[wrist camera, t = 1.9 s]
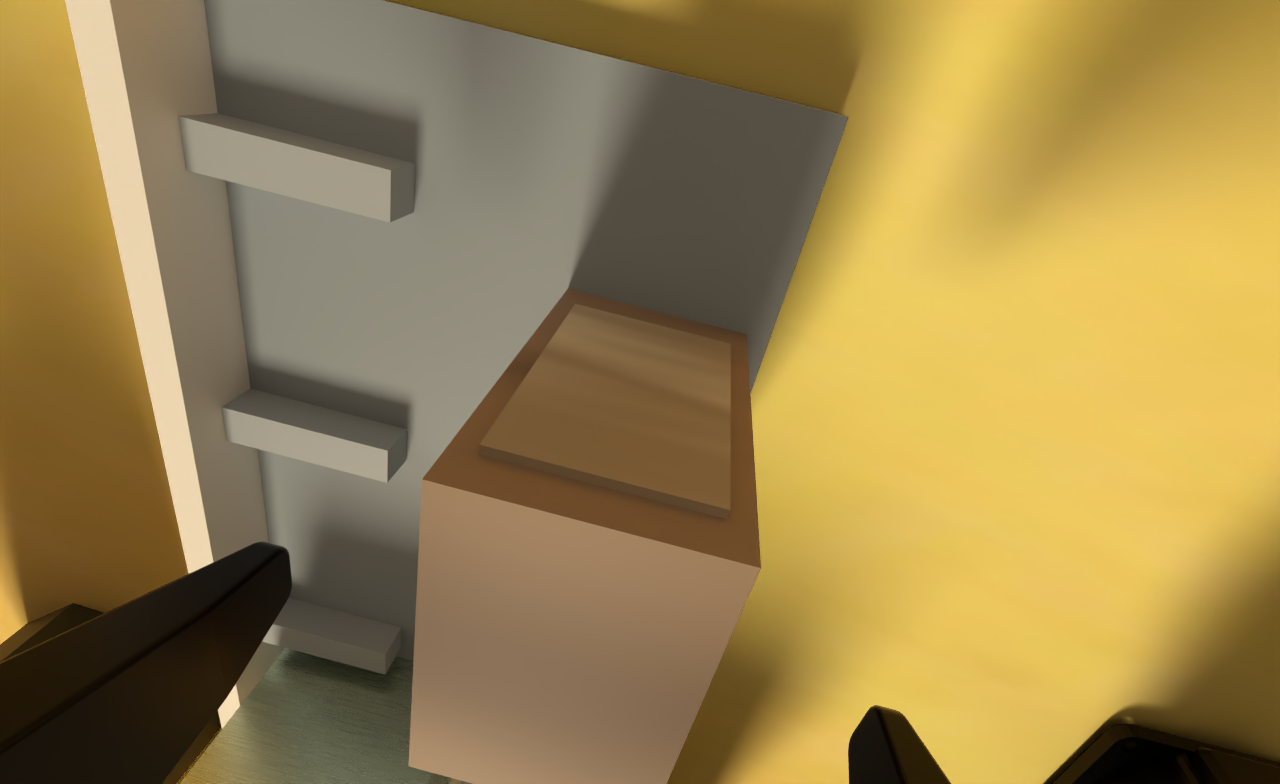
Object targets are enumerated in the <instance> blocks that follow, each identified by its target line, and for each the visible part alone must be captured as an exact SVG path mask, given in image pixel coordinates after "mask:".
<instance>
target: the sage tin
mask: <svg viewBox="0 0 1280 784" xmlns="http://www.w3.org/2000/svg"><path fill="white" fill-rule="evenodd" d="M412 681H413V661H412V660H408V659H404V658H401V657H397V656H396V657H395V658H394V660H393V662H392V664H391V665H390V667H389V669H388V671H387V672H386V674H381V673H378V672H374V671H370V670H366V669H363V668H359V667H355V666H351V665H348V664H344V663H340V662H336V661H333V660H329V659H325V658H321V657H318V656H314V655H310V654H307V653H303V652H299V651H295V650H292V649H288V648H285V649H284V650H283V651H282V653H281V654H280V655H279V656H278V658H277V659H276V660H275V662H274V663H273V664H272V665H271V667H270V668H269V669H268V671H267V672H266V673H265V674H264V676H263V677H262V678H261V680H260V681H259V682H258V683H257V685H256V686H255V687H254V689H253V690H252V691H251V692H250V694H249V695H248V696H247V698H246V699H245V700H244V701H243V703H242V704H241V705H240V707H239V708H238V709H237V710H236V712H235V713H234V714H233V716H232V717H231V718H230V719H229V721H228V722H227V723H226V725H225V726H224V727H223V728H222V730H221V731H220V732H219V734H218V735H217V736H216V737H215V739H214V740H213V741H212V743H211V744H210V745H209V746H208V748H207V749H206V750H205V752H204V753H203V754H202V755H201V757H200V758H199V759H198V760H197V762H196V763H195V764H194V766H193V767H192V768H191V769H190V771H189V772H188V773H187V775H186V776H185V777H184V778H183V780H182V781H181V782H180V784H450V781H451V778H450V777H446V776H442V775H439V774H435V773H431V772H428V771H424V770H420V769H416V768H413V767H409V745H410V724H411V703H412Z"/></svg>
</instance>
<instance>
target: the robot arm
mask: <svg viewBox="0 0 1280 784" xmlns="http://www.w3.org/2000/svg"><path fill="white" fill-rule="evenodd" d="M291 590H292V576H291V566H290V556H289V551H288V550H287V549H286V548H285V547H283V546H279V545H275V544H272V543H268V542H257V543H253V544H251V545H249V546H247V547H245V548H243V549H240V550H238V551H236V552H234V553H232V554H230V555H228V556H226V557H223V558H221V559H219V560H217V561H215V562H213V563H211V564H209V565H206V566H204V567H202V568H200V569H198V570H196V571H194V572H192V573H189V574H187V575H185V576H183V577H181V578H179V579H177V580H175V581H172V582H170V583H168V584H166V585H164V586H162V587H160V588H158V589H155V590H153V591H151V592H149V593H147V594H145V595H143V596H141V597H138V598H136V599H134V600H132V601H130V602H128V603H126V604H124V605H121V606H119V607H117V608H115V609H113V610H111V611H109V612H107V613H104V614H102V615H100V616H98V617H96V618H94V619H92V620H90V621H87V622H85V623H83V624H81V625H79V626H77V627H75V628H73V629H70V630H68V631H66V632H64V633H62V634H60V635H58V636H56V637H53V638H51V639H49V640H47V641H45V642H43V643H41V644H39V645H36V646H34V647H32V648H30V649H28V650H26V651H24V652H22V653H19V654H17V655H15V656H13V657H11V658H9V659H7V660H5V661H2V662H0V784H162V783H163V782H164V781H165V779H166V778H167V777H168V775H169V774H170V773H171V771H172V770H173V769H174V767H175V766H176V765H177V763H178V762H179V761H180V759H181V758H182V757H183V755H184V754H185V753H186V752H187V750H188V749H189V748H190V746H191V745H192V744H193V742H194V741H195V740H196V738H197V737H198V736H199V734H200V733H201V732H202V730H203V729H204V728H205V726H206V725H207V724H208V722H209V721H210V720H211V719H212V717H213V716H214V715H215V713H216V712H217V710H218V709H219V708H220V706H221V705H222V704H223V702H224V701H225V699H226V698H227V697H228V695H229V694H230V692H231V691H232V689H233V687H234V686H235V684H236V683H237V681H238V680H239V678H240V676H241V675H242V673H243V672H244V670H245V668H246V667H247V665H248V664H249V662H250V660H251V659H252V657H253V655H254V654H255V652H256V651H257V649H258V647H259V646H260V644H261V642H262V641H263V639H264V638H265V636H266V634H267V633H268V631H269V630H270V628H271V626H272V625H273V623H274V621H275V620H276V618H277V617H278V615H279V613H280V612H281V610H282V608H283V607H284V605H285V604H286V602H287V600H288V598H289V596H290V593H291ZM848 759H849V784H951V783H950V781H949V780H948V778H947V777H946V775H945V774H944V773H943V771H942V770H941V768H940V767H939V765H938V764H937V762H936V761H935V759H934V758H933V756H932V755H931V754H930V752H929V751H928V749H927V748H926V746H925V745H924V743H923V742H922V740H921V739H920V738H919V736H918V735H917V733H916V732H915V730H914V729H913V727H912V726H911V724H910V723H909V721H908V720H907V719H906V717H905V716H904V715H903V714H902V713H900V712H899V711H896V710H893V709H889V708H885V707H882V706H877V705H875V706H872V707H870V709H869V710H868V711H867V713H866V714H865V716H864V717H863V719H862V720H861V722H860V723H859V725H858V726H857V728H856V729H855V731H854V732H853V734H852V736H851V739H850V742H849V749H848ZM1053 784H1280V763H1276V762H1272V761H1269V760H1265V759H1261V758H1257V757H1253V756H1250V755H1246V754H1242V753H1238V752H1234V751H1231V750H1227V749H1223V748H1219V747H1215V746H1212V745H1208V744H1204V743H1200V742H1197V741H1193V740H1189V739H1185V738H1181V737H1178V736H1174V735H1170V734H1166V733H1162V732H1159V731H1155V730H1151V729H1147V728H1143V727H1140V726H1136V725H1131V724H1120V725H1116V726H1113V727H1111V728H1109V729H1108V730H1107V731H1106V732H1105V733H1104V734H1103V735H1102V736H1101V737H1100V738H1099V739H1098V740H1096V741H1095V742H1094V743H1093V744H1092V745H1091V746H1090V747H1089V748H1088V749H1087V750H1086V751H1085V752H1084V753H1083V754H1082V755H1081V756H1080V757H1079V758H1078V759H1077V760H1076V761H1075V762H1074V763H1073V764H1072V765H1071V766H1070V767H1069V768H1068V769H1067V770H1066V771H1065V772H1064V773H1063V774H1062V775H1061V776H1060V777H1059V778H1058V779H1057V780H1056V781H1055V782H1054V783H1053Z"/></svg>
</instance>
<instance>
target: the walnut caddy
mask: <svg viewBox="0 0 1280 784" xmlns="http://www.w3.org/2000/svg"><path fill="white" fill-rule="evenodd" d="M760 569H761V563H760V547H759V530H758V513H757V497H756V480H755V463H754V447H753V430H752V414H751V397H750V380H749V364H748V347H747V334H743V333H739V332H735V331H731V330H727V329H724V328H720V327H716V326H712V325H708V324H704V323H700V322H696V321H692V320H688V319H684V318H681V317H677V316H673V315H669V314H665V313H661V312H657V311H653V310H649V309H645V308H642V307H638V306H634V305H630V304H626V303H622V302H618V301H614V300H610V299H606V298H603V297H599V296H595V295H591V294H587V293H583V292H579V291H575V290H571V289H567V290H566V292H565V293H564V294H563V296H562V297H561V298H560V300H559V301H558V302H557V303H556V305H555V306H554V307H553V309H552V310H551V311H550V313H549V314H548V315H547V317H546V318H545V319H544V320H543V322H542V323H541V324H540V326H539V327H538V328H537V330H536V331H535V332H534V334H533V335H532V336H531V337H530V339H529V340H528V341H527V343H526V344H525V345H524V347H523V348H522V349H521V351H520V352H519V353H518V354H517V356H516V357H515V358H514V360H513V361H512V362H511V364H510V365H509V366H508V368H507V369H506V370H505V371H504V373H503V374H502V375H501V377H500V378H499V379H498V381H497V382H496V383H495V385H494V386H493V387H492V388H491V390H490V391H489V392H488V394H487V395H486V396H485V398H484V399H483V400H482V402H481V403H480V404H479V405H478V407H477V408H476V409H475V411H474V412H473V413H472V415H471V416H470V417H469V419H468V420H467V421H466V422H465V424H464V425H463V426H462V428H461V429H460V430H459V432H458V433H457V434H456V436H455V437H454V438H453V439H452V441H451V442H450V443H449V445H448V446H447V447H446V449H445V450H444V451H443V453H442V454H441V455H440V456H439V458H438V459H437V460H436V462H435V463H434V464H433V466H432V467H431V468H430V470H429V471H428V472H427V473H426V475H425V476H424V477H423V479H422V489H421V511H420V532H419V553H418V575H417V596H416V617H415V639H414V660H413V681H412V703H411V724H410V745H409V767H413V768H416V769H420V770H424V771H428V772H431V773H435V774H439V775H442V776H446V777H450V778H454V779H457V780H461V781H465V782H468V783H472V784H667V782H668V779H669V777H670V775H671V772H672V770H673V768H674V766H675V763H676V761H677V759H678V756H679V754H680V752H681V750H682V747H683V745H684V743H685V740H686V738H687V736H688V734H689V731H690V729H691V727H692V724H693V722H694V720H695V718H696V715H697V713H698V711H699V708H700V706H701V704H702V702H703V699H704V697H705V695H706V692H707V690H708V688H709V686H710V683H711V681H712V679H713V676H714V674H715V672H716V670H717V667H718V665H719V663H720V660H721V658H722V656H723V654H724V651H725V649H726V647H727V644H728V642H729V640H730V637H731V635H732V633H733V631H734V628H735V626H736V624H737V621H738V619H739V617H740V615H741V612H742V610H743V608H744V605H745V603H746V601H747V599H748V596H749V594H750V592H751V589H752V587H753V585H754V583H755V580H756V578H757V576H758V573H759V571H760Z"/></svg>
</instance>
